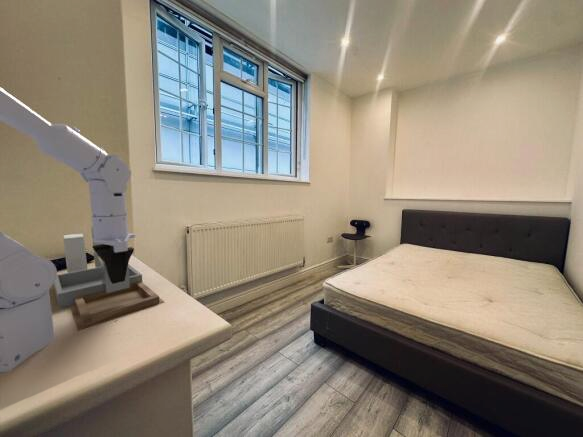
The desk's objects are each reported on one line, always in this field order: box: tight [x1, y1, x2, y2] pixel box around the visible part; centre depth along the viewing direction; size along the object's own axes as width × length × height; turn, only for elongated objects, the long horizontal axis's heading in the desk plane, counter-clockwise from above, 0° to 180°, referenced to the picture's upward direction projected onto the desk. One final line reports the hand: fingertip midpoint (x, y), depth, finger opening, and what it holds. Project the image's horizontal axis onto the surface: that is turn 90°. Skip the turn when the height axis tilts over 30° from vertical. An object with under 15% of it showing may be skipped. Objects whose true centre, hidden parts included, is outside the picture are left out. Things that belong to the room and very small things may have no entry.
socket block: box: [69, 281, 166, 332], centre depth 50 cm, size 14×14×2 cm
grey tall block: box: [98, 256, 130, 293], centre depth 49 cm, size 4×4×7 cm
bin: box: [53, 263, 143, 309], centre depth 58 cm, size 15×15×4 cm
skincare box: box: [62, 233, 88, 273], centre depth 67 cm, size 6×4×12 cm
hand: (115, 279), depth 49 cm, fingers closed on grey tall block, 4 cm apart
